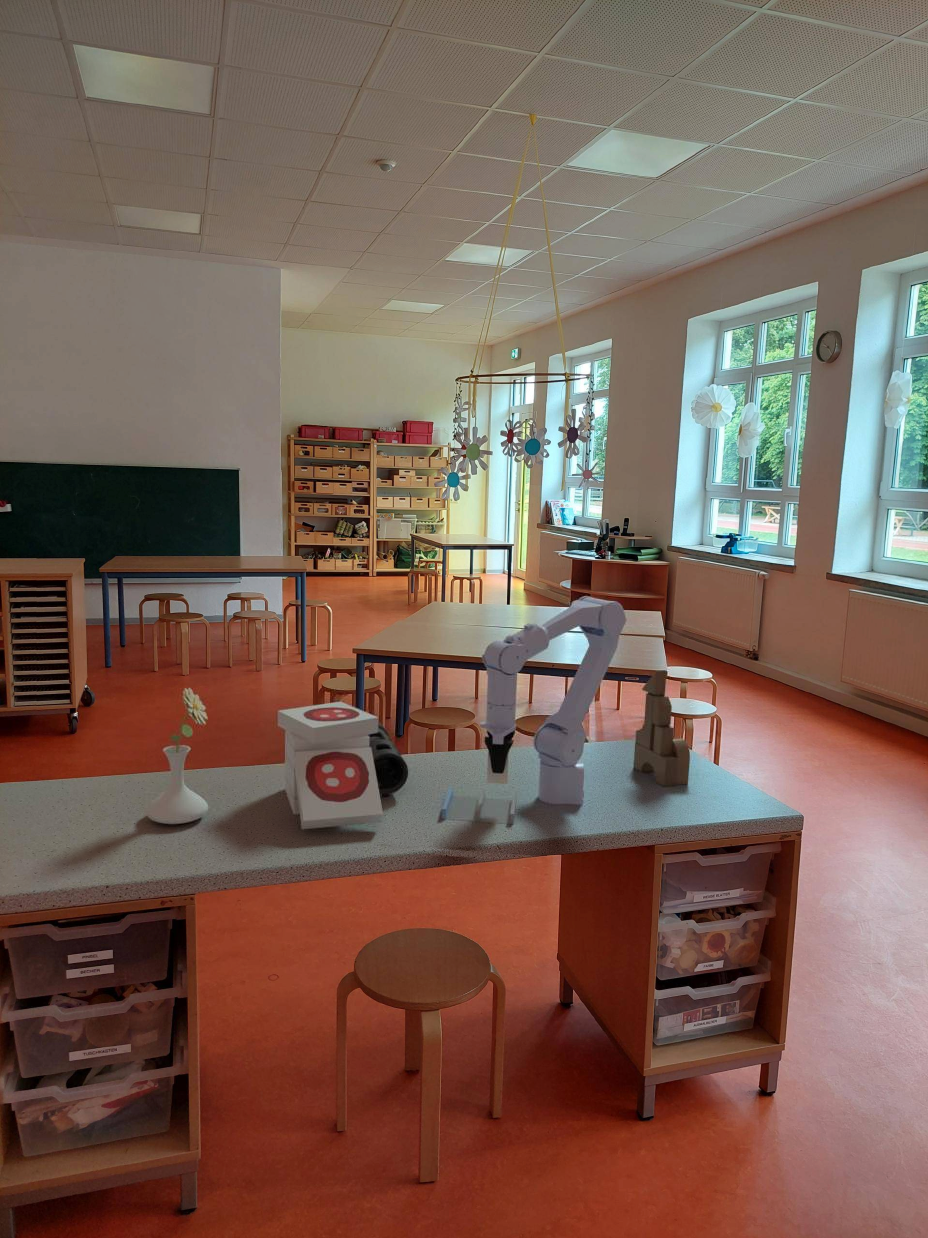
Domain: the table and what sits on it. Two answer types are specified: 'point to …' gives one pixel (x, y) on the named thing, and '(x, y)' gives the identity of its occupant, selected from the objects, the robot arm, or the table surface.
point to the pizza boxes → (330, 765)
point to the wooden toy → (660, 738)
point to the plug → (497, 776)
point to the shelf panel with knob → (479, 808)
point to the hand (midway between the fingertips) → (498, 769)
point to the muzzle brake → (387, 763)
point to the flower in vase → (180, 775)
